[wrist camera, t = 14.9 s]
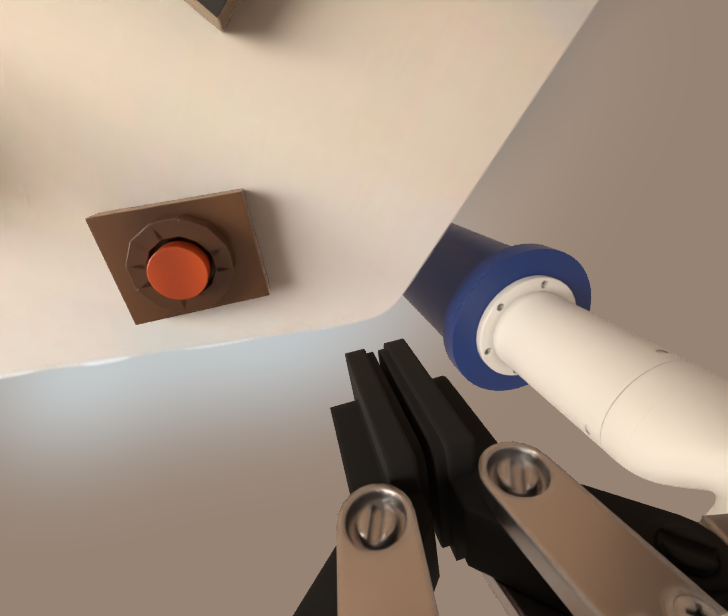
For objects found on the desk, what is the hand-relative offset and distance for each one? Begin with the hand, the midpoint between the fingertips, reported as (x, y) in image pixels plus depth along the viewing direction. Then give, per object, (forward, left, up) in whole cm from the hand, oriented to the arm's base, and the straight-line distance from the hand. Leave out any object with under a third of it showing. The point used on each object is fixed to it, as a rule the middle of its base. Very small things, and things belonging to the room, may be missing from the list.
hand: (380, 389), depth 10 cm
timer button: (+6, +6, -18) cm, 20 cm away
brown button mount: (+6, +6, -22) cm, 23 cm away
